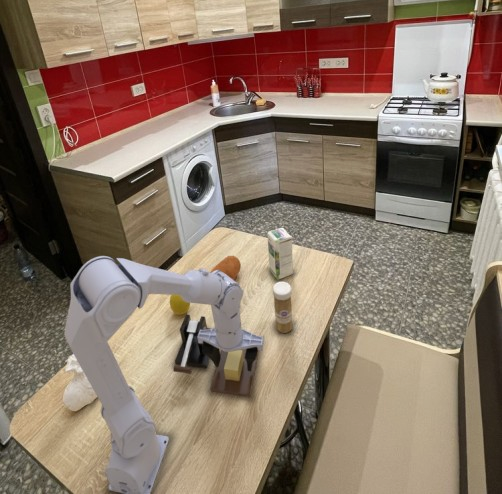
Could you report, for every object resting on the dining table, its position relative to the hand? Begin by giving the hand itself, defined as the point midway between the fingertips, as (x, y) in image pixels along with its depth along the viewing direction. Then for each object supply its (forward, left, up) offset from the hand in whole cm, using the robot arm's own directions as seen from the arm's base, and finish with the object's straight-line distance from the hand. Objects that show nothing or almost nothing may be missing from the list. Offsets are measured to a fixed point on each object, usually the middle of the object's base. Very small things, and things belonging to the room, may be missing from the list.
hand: (234, 364), depth 79 cm
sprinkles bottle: (+14, -10, -3) cm, 17 cm away
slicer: (+5, +11, -3) cm, 12 cm away
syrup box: (+34, -7, -3) cm, 35 cm away
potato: (+28, +10, -3) cm, 30 cm away
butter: (0, 0, -2) cm, 2 cm away
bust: (-8, +32, -3) cm, 34 cm away
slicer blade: (+1, +11, +2) cm, 11 cm away
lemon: (+15, +19, -3) cm, 24 cm away
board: (+2, 0, -3) cm, 3 cm away
